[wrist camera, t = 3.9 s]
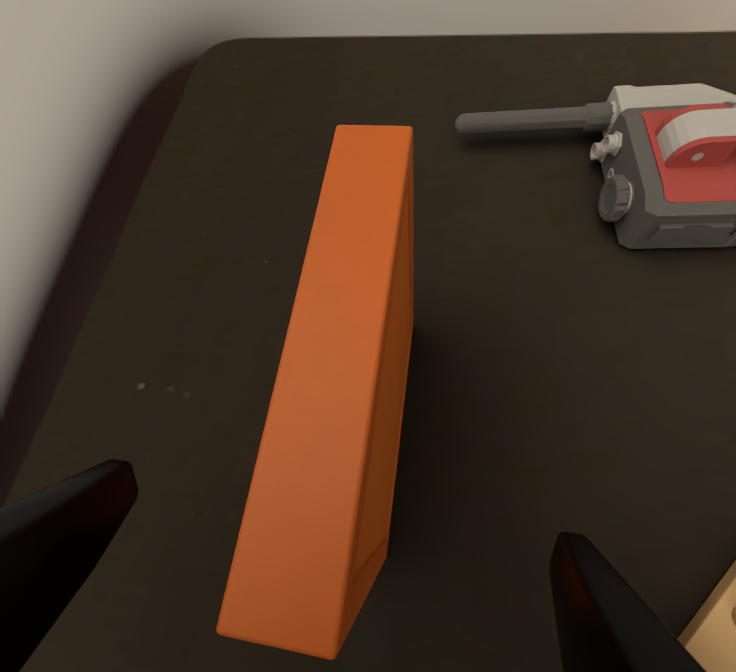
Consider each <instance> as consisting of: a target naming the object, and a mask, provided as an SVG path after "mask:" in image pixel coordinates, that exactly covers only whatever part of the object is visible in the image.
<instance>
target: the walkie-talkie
mask: <svg viewBox="0 0 736 672" xmlns="http://www.w3.org/2000/svg"><path fill="white" fill-rule="evenodd" d="M455 128H456V130H457V132H458V133H460V134H462V135H465V134H485V133H504V132H524V131H543V130H563V129H581V130H582V131H602V132H603V137H604V139H602V141H601V142H598V143H594V144H593V145H592V147H591V151H590V158H591V160H598V161H600V162H601V167H602V171H603V176H604V180H605V183H604V185H603V187H602V189H601V192H600V197H599V204H598V207H599V214H600V216H601V218H602V219H603V220H604V221H605V222H614V225H615V229H616V234H617V238H618V243H619V244H621V245H623V246H625V247H627V248H629V249H645V248H698V247H729V246H736V95H734V94H731V93H728V92H725V91H722V90H719V89H716V88H714V87H711V86H708V85H705V84H701V83H699V84H682V85H665V86H647V87H634V86H631V85H626V86H615V87H614V88H613V89H612V91H611V93H610V95H609V97H608V100H607V102H601V103H588V104H586V105H585V106H584V107H568V108H551V109H533V110H516V111H499V112H482V113H465V114H461V115H460V116H459V117H458V118H457V120H456V122H455Z"/></svg>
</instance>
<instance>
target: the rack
mask: <svg viewBox="0 0 736 672" xmlns="http://www.w3.org/2000/svg"><path fill="white" fill-rule="evenodd" d="M678 640H679V641H680V643H681V644H682V645H683V646H684V647H685V648H686V649H687V650H688V652H689V653H690V654H691V655H692V656H693V657H694V658H695V659H696V660H697V662H698V663H699V664H700V665H701V666H702V667H703V668H704V669H705V671H706V672H736V560H735V562H734V563H733V564H732V566H731V567H730V568H729V570H728V571H727V572H726V574H725V575H724V576H723V578H722V579H721V580H720V582H719V583H718V585H717V586H716V587H715V589H714V590H713V591H712V593H711V594H710V595H709V597H708V598H707V599H706V601H705V602H704V604H703V605H702V606H701V608H700V609H699V610H698V612H697V613H696V614H695V616H694V617H693V618H692V620H691V621H690V622H689V624H688V625H687V627H686V628H685V629H684V631H683V632H682V633H681V635H680V636H679V637H678Z"/></svg>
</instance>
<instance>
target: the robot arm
mask: <svg viewBox="0 0 736 672" xmlns="http://www.w3.org/2000/svg"><path fill="white" fill-rule="evenodd" d="M137 495H138V487H137V483H136V479H135V475H134V471H133V467H132V465H131V464H130V463H129V462H127V461H122V460H116V459H111V460H108V461H105V462H103V463H101V464H98V465H96V466H94V467H92V468H89V469H87V470H85V471H83V472H80V473H78V474H76V475H74V476H71V477H69V478H67V479H65V480H63V481H60V482H58V483H56V484H54V485H51V486H49V487H47V488H45V489H42V490H40V491H38V492H36V493H33V494H31V495H29V496H27V497H24V498H22V499H20V500H18V501H15V502H13V503H11V504H9V505H6V506H4V507H2V508H0V672H19V671H20V670H21V668H22V667H23V666H24V664H25V663H26V662H27V660H28V659H29V657H30V656H31V655H32V653H33V652H34V651H35V649H36V648H37V646H38V645H39V644H40V642H41V641H42V640H43V638H44V637H45V635H46V634H47V633H48V631H49V630H50V629H51V627H52V626H53V624H54V623H55V622H56V620H57V619H58V618H59V616H60V615H61V614H62V612H63V611H64V609H65V608H66V607H67V605H68V604H69V603H70V601H71V600H72V598H73V597H74V596H75V594H76V593H77V592H78V590H79V589H80V587H81V586H82V585H83V583H84V582H85V581H86V579H87V578H88V576H89V575H90V573H91V572H92V571H93V569H94V568H95V566H96V565H97V563H98V561H99V560H100V558H101V557H102V555H103V553H104V552H105V550H106V549H107V547H108V545H109V544H110V542H111V540H112V539H113V537H114V535H115V534H116V532H117V531H118V529H119V527H120V526H121V524H122V522H123V521H124V519H125V517H126V516H127V514H128V513H129V511H130V509H131V508H132V506H133V504H134V503H135V501H136V498H137ZM550 579H551V586H552V594H553V601H554V608H555V616H556V623H557V630H558V638H559V645H560V652H561V659H562V665H563V670H564V672H706V671H705V669H704V668H703V667H702V666H701V665H700V664H699V663H698V662H697V660H696V659H695V658H694V657H693V656H692V655H691V654H690V653H689V652H688V650H687V649H686V648H685V647H684V646H683V645H682V644H681V643H680V641H679V640H678V639H677V638H676V637H675V636H674V635H673V634H672V632H671V631H670V630H669V629H668V628H667V627H666V626H665V625H664V624H663V622H662V621H661V620H660V619H659V618H658V617H657V616H656V615H655V613H654V612H653V611H652V610H651V609H650V608H649V607H648V606H647V605H646V603H645V602H644V601H643V600H642V599H641V598H640V597H639V596H638V594H637V593H636V592H635V591H634V590H633V589H632V588H631V587H630V586H629V584H628V583H627V582H626V581H625V580H624V579H623V578H622V577H621V575H620V574H619V573H618V572H617V571H616V570H615V569H614V568H613V567H612V565H611V564H610V563H609V562H608V561H607V560H606V559H605V558H604V556H603V555H602V554H601V553H600V552H599V551H598V550H597V549H596V548H595V546H594V545H593V544H592V543H591V542H590V541H589V540H588V539H587V538H586V537H585V536H584V535H581V534H576V533H570V532H560V533H559V535H558V537H557V540H556V543H555V547H554V550H553V553H552V557H551V560H550Z"/></svg>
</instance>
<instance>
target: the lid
mask: <svg viewBox="0 0 736 672" xmlns="http://www.w3.org/2000/svg"><path fill="white" fill-rule="evenodd" d="M412 332H413V129H412V127H410V126H373V125H338V126H337V127H336V131H335V135H334V139H333V144H332V148H331V152H330V156H329V160H328V164H327V169H326V173H325V177H324V181H323V185H322V189H321V194H320V198H319V202H318V206H317V210H316V215H315V219H314V223H313V227H312V231H311V235H310V240H309V244H308V248H307V252H306V256H305V260H304V265H303V269H302V273H301V277H300V281H299V286H298V290H297V294H296V298H295V302H294V306H293V311H292V315H291V319H290V323H289V327H288V331H287V336H286V340H285V344H284V348H283V352H282V357H281V361H280V365H279V369H278V373H277V377H276V382H275V386H274V390H273V394H272V398H271V403H270V407H269V411H268V415H267V419H266V423H265V428H264V432H263V436H262V440H261V444H260V448H259V453H258V457H257V461H256V465H255V469H254V474H253V478H252V482H251V486H250V490H249V494H248V499H247V503H246V507H245V511H244V515H243V519H242V524H241V528H240V532H239V536H238V540H237V545H236V549H235V553H234V557H233V561H232V565H231V570H230V574H229V578H228V582H227V586H226V590H225V595H224V599H223V603H222V607H221V611H220V616H219V620H218V624H217V633H218V634H220V635H222V636H227V637H231V638H235V639H240V640H244V641H249V642H253V643H258V644H262V645H267V646H271V647H275V648H280V649H284V650H289V651H293V652H298V653H302V654H307V655H311V656H315V657H320V658H324V659H329V660H332V659H335V658H336V656H337V655H338V653H339V651H340V649H341V647H342V645H343V643H344V641H345V639H346V637H347V635H348V633H349V631H350V629H351V627H352V625H353V623H354V621H355V619H356V617H357V615H358V613H359V611H360V609H361V607H362V605H363V603H364V601H365V599H366V597H367V595H368V593H369V591H370V589H371V587H372V585H373V583H374V581H375V579H376V577H377V575H378V573H379V571H380V569H381V567H382V565H383V563H384V561H385V559H386V557H387V549H388V540H389V532H390V523H391V514H392V506H393V497H394V488H395V480H396V471H397V462H398V454H399V445H400V436H401V428H402V419H403V410H404V402H405V393H406V384H407V376H408V367H409V358H410V350H411V341H412Z"/></svg>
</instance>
